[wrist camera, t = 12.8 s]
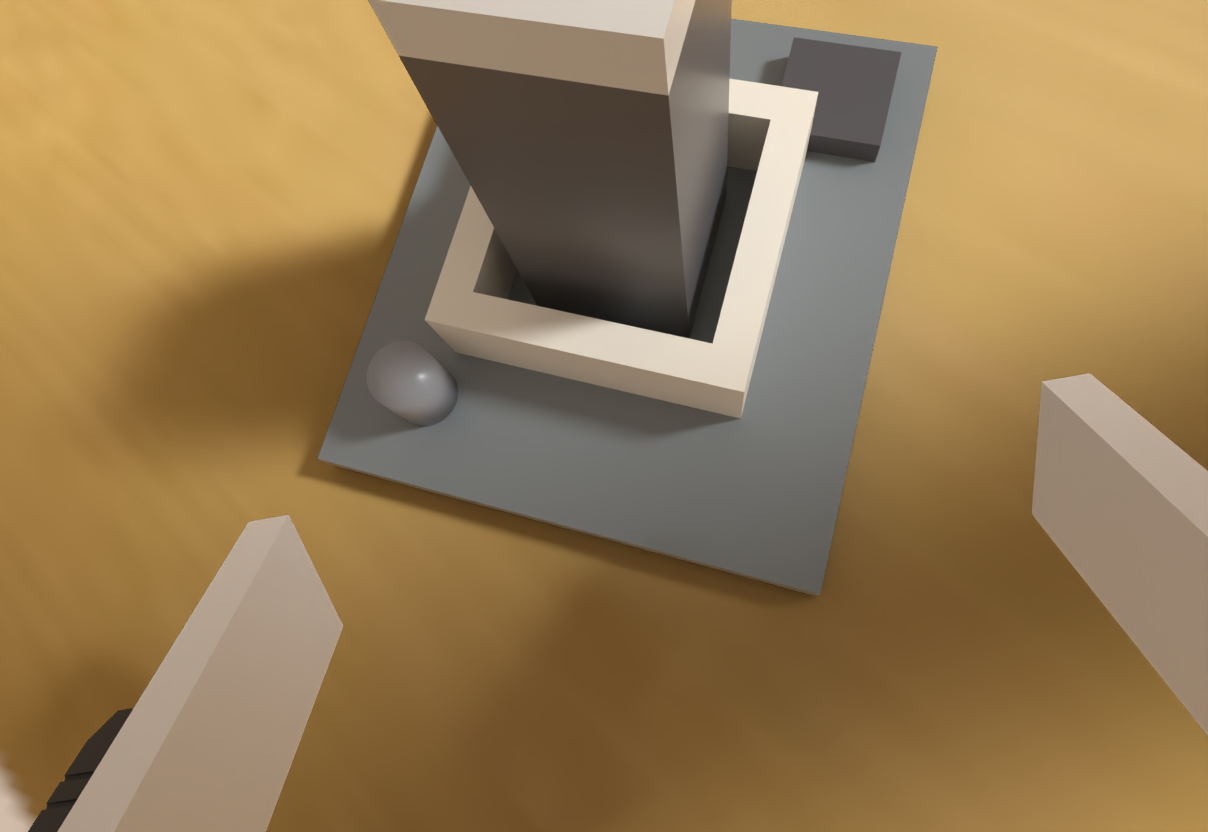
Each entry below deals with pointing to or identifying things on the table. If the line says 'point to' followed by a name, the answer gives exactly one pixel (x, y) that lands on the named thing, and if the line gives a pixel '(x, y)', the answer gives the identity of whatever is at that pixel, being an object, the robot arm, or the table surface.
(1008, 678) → the table surface
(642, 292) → the tall square peg
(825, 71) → the board
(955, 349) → the table surface
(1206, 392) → the table surface
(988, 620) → the table surface
